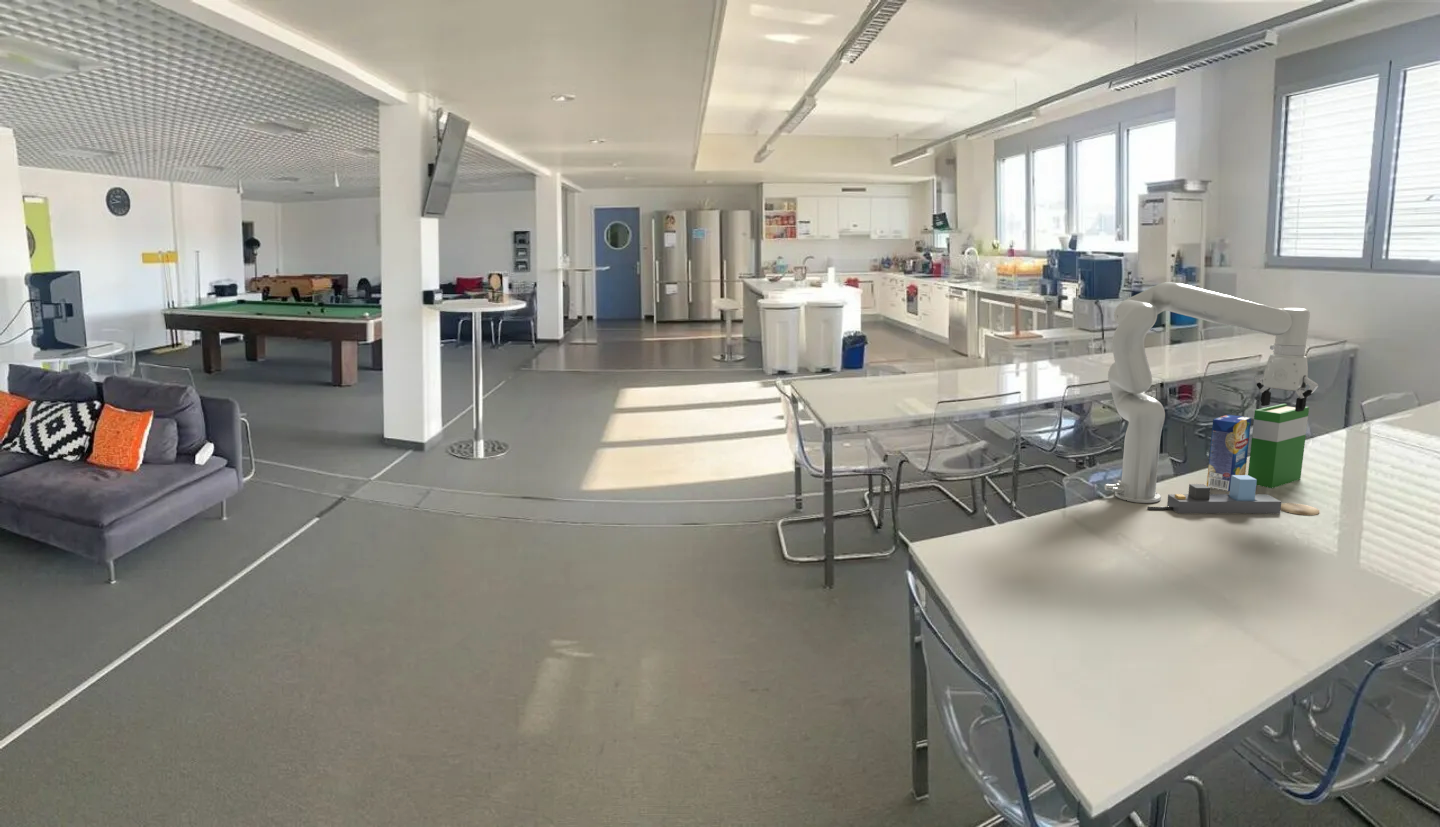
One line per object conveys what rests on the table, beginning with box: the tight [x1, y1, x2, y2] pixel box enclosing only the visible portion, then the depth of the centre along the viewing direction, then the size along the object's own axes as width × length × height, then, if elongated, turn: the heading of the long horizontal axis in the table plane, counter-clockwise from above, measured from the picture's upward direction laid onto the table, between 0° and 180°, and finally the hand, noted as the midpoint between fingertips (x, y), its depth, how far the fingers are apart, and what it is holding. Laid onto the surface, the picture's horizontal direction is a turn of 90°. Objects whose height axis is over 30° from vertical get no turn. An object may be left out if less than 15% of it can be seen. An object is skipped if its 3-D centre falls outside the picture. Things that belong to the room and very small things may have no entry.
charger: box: [1228, 474, 1257, 501], centre depth 237 cm, size 5×5×8 cm
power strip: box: [1146, 483, 1282, 515], centre depth 238 cm, size 35×7×7 cm, turn 86°
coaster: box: [1280, 502, 1321, 516], centre depth 237 cm, size 10×10×1 cm
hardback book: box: [1247, 403, 1310, 489], centre depth 263 cm, size 18×7×24 cm, turn 120°
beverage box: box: [1206, 414, 1252, 492], centre depth 259 cm, size 7×11×22 cm, turn 128°
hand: (1282, 408), depth 242 cm, fingers open, 9 cm apart
